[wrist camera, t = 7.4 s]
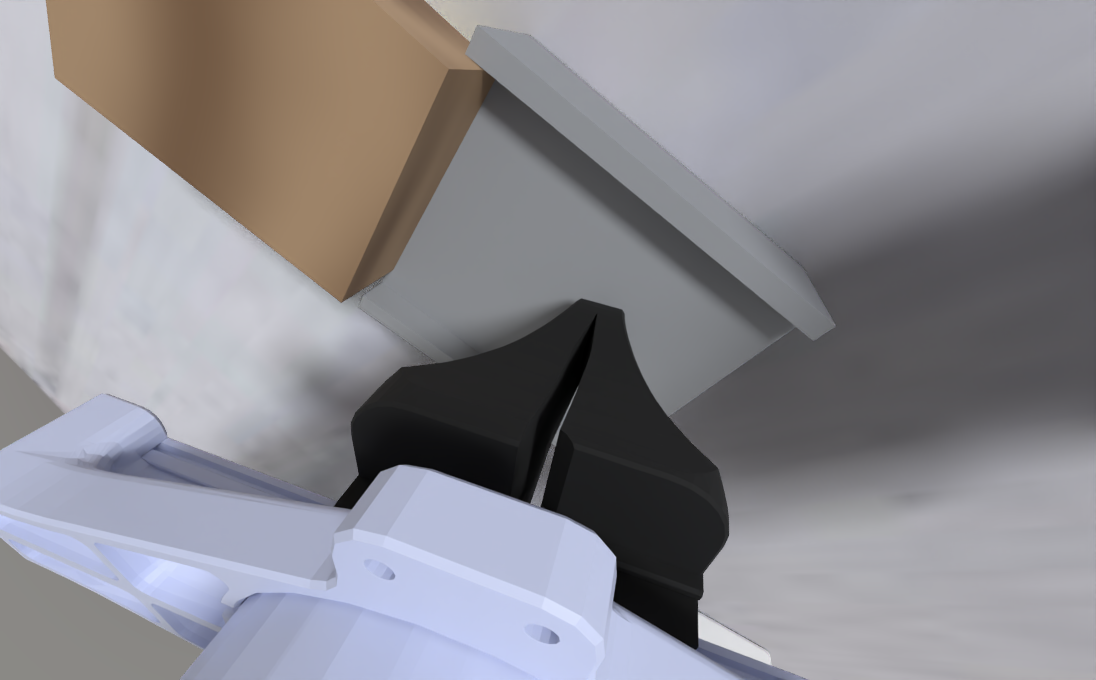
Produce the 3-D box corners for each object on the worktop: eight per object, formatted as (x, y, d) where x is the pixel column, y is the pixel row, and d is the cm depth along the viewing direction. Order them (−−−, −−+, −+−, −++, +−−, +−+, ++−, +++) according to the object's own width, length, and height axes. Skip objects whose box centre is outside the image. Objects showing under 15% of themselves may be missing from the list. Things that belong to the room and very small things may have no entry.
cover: (500, 70, 10) (448, 68, 8) (393, 270, 14) (341, 302, 12) (167, -238, 9) (7, -331, 7) (156, 77, 13) (54, 77, 11)
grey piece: (802, 267, 13) (836, 326, 10) (617, 414, 18) (603, 480, 15) (529, 34, 12) (477, 24, 9) (415, 265, 17) (358, 307, 14)
